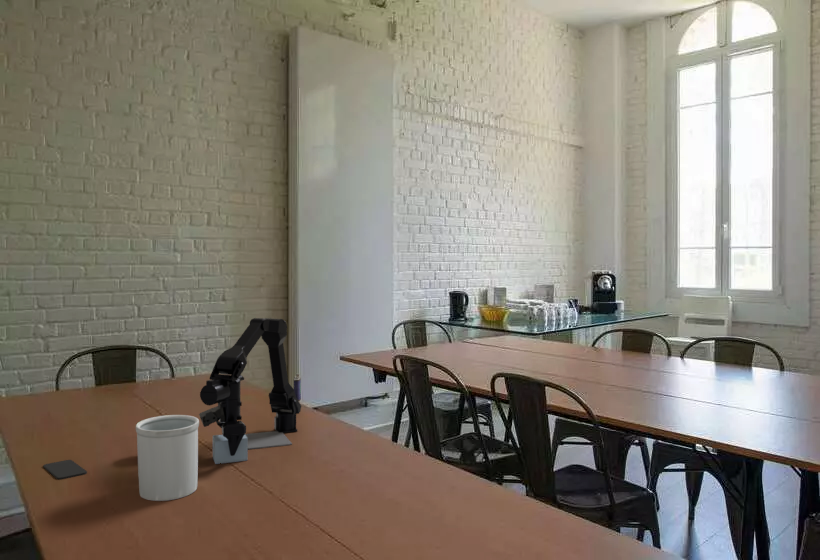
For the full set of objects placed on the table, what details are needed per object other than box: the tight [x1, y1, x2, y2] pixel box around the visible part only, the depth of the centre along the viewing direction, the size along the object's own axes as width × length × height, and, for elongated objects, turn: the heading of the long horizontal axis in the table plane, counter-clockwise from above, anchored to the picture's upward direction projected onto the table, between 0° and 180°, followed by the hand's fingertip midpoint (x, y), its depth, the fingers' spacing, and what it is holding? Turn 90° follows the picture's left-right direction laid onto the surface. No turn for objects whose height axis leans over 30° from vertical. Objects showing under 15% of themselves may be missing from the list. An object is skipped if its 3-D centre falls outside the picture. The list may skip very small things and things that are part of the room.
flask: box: [293, 373, 302, 402], centre depth 263 cm, size 9×3×11 cm, turn 8°
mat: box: [245, 430, 293, 451], centre depth 204 cm, size 16×16×1 cm
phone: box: [43, 459, 88, 481], centre depth 174 cm, size 7×1×15 cm
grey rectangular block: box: [212, 434, 249, 465], centre depth 185 cm, size 9×6×6 cm
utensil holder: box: [135, 414, 200, 502], centre depth 159 cm, size 15×15×18 cm
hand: (230, 451), depth 185 cm, fingers open, 9 cm apart
